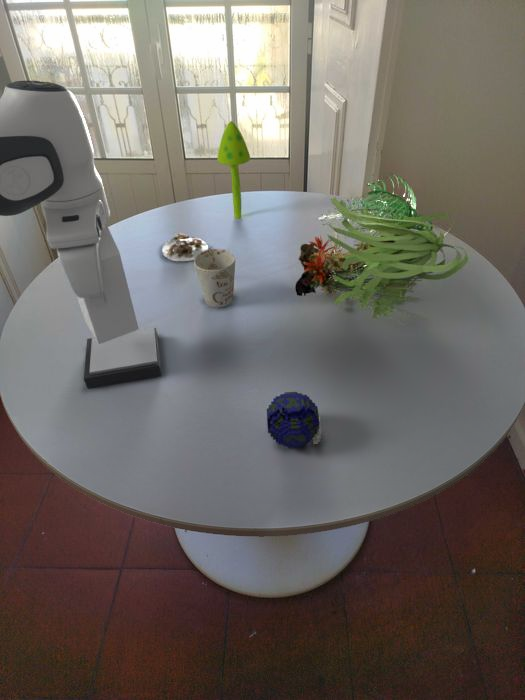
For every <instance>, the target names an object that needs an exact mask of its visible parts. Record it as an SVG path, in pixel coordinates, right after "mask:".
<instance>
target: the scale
mask: <svg viewBox="0 0 525 700" xmlns="http://www.w3.org/2000/svg"><path fill="white" fill-rule="evenodd" d="M85 347H86V348H85V357H84V358H85V359H84V360H85V361H84V367H83V368H84V371H83V381H84V383H85V386H86V388H87V389H94V388H99V387H105V386H111V385H115V384H122V383H128V382H133V381H139V380H145V379H151V378H155V377H162V365H161V363H162V362H161V353H160V352H161V351H160V342H159V334H158V331H157V327H151V328H150V327H149V328H144V329H138V330H136V331H133V332H131V333H128V334H125V335H123V336H120V337H117V338H115V339H112V340H109V341H107V342H104V343H101V344H98V342H97V340H96V339H95V337H94V336H93V337H90V338H86V346H85Z"/></svg>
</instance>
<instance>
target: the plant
mask: <svg viewBox="0 0 525 700" xmlns="http://www.w3.org/2000/svg"><path fill="white" fill-rule="evenodd" d="M391 175H392V176H394V178H395V179H396V180H397V181H401V184H403V185H404V187H405V191H404V194H403V197H405V196H406V192H408V191H409V194H408V197H407V198H406V200H405V199H404V198H402V197H401V196H400V195H397V194H395V193H394V192H395V191H392V193H391V192H388V191H386V190H387V185H386V183H385V182H384V180H382V179H380V178H378V181H380V183H381V184H382V186H383V189H382V187H381V186H380V185H379V184H377V183H375V182H371V183H370V182H368V183H367V184H366V187H371V188H372V190H371V191H366V194H367V195H366V196H364V198H363V199H362V197H363V195H359V196H356V198H353V196H351V197H350V199H347V200H346V201H347V202H348V203H349V205H347V204H346V202H344V201H343V199H341V201H338V199H337V198H336V196H334V197H332V198H329V200H330V202H331V203H332V204H333V205H334V206H335V209H336V210H337V211H338V212H333V213H330V211H327V212H328V213H329V215H327V214H323V213H321V214H322V215H323V216H322V217H317V220H320V221H321V222H325V221H327V220H330V219H332V220H331V221H329V222H327V223H322V226H326V225H327V226H328V227H330V228H331V230H333V231H334V236H335V237H334V236H332V235H329V234H327V237H328V239H327V240H326V242H325V243H324V241H323V239H322V235H320V237H318V236H316V235H315V236H314V240H315V242H314V241H308V242H309V244H308V243H303V244H301V245H300V255H299V257H298V260H299V262H300V264H301V266H302V268H303V270H304V271H303V273H302V274H301V276H300V277H299V279H298V280H297V281H296V283H295V285H294V289H295V290H294V291H295V293H296V295H297V296H298V297H303V296H304V297H306V295H307V294H312V293H314V294H317V292H316V289H317V288H319V289H320V288H321V291H323V295H324V296H327V295H330V296H331V297H332V296H333V295H334V296H335V298H336V299H335V300H334V301H333V303H334V304H335V305H336V306H342V304H343V301H344V300H346V302H347V303H348V310H351V305H350V299H351V300H354V301H355V302H357V303H360V304H358V306H359V307H360V308H361V309H362V310H363V309H365V308H366V307H368V308H369V309H371V310H373V311H372V315H371V317H372V319H377V318H378V316H380V317H381V316H382V315H383V316H384V317H387V318H389V319H392V320H393V321H395V322H397V323H399V324H400V325H403V326H405V327H407V328H409V329H411V330H413V331H415V332H418V330H417V329H415V328H413V327H411V326H409V325H407V324H406V323H403V322H401V321H399V320H397V319H395V318H393V317H391V316H389V315H388V312H389V313H391V314H393V313H394V311H396V312H399V313H401V314H403V315H407V316H410V317H413V318H415V319H419V320H422V321H424V320H427V318H426V317H423V316H420V315H417V314H414V313H411V312H408V311H406V310H402V309H399V308H396V307H395V304H396V301H398V303H402V305H404V304H405V303H406V302H410V303H416V304H419V301H414V300H413V301H412V300H408V299H406V298H412V296H409V295H406V294H407V292H408V291H409V292H411V293H414V292H415V290H413V288H412V287H411V286H417V283H416V282H422V281H423V280H431V281H439V280H444V279H447V278H449V277H451V276H453V275H455V274H456V273H457V272H459V271H460V270H462V269H463V268H464V267H465V266H466V265H467V263H468V260H469V255H468V253H467V252H466V250H465V249H464V248H463V247H461V246H457V245H451V244H446V243H444V238H445V236H446V235H447V234H448V233H449V231H447V232H446V233H444V234H443V232H442V231H441V230H440V228H439V227H438V226H437V225H434V224H433V222H431V220H437V219H444V218H450V219H453V217H452V216H451V215H450V214H447V213H439V214H432V215H422V214H421V213H420V212H419V210H417V211H416V207H417V198H416V194H414V190H413V188H412V186H411V185H410V184H409V183H408V182H407V181H406V179H404V178H402V177H401V176H400V175H395V174H394V173H391ZM387 178H388V179H390V181H391V183H392V186H393V187H395V183H394V181H393V179H392V178H391V177H390V176H386V177H385V178H384V179H387ZM398 178H399V179H398ZM397 184H398V185H397V186H398V187H399V183H397ZM376 187H377V188H376ZM400 191H402V188H401V189H400ZM385 195H386V196H385ZM384 196H385V197H384ZM389 196H390V197H389ZM393 199H394V200H393ZM410 199H411V200H410ZM350 200H352V201H350ZM354 200H355V201H356V203H355V201H354ZM351 202H352V203H351ZM409 202H410V203H409ZM341 220H342V221H341ZM340 221H341V223H340V224H337V225H334V224H336V223H339V222H340ZM349 221H350V222H349ZM426 221H427V222H426ZM354 224H355V226H353V225H354ZM454 224H455V221H454V220H452V224H451V227H450V228H449V230H451V229H452V228H453V226H454ZM333 225H334V226H333ZM433 228H435V229H436V230H438V231H439V236H437V234H436V233H435V232H434V231H433ZM365 231H366V232H365ZM338 234H340V235H342V236H344V239H345V240H346V239H348V238H351V239H354V241H353V242H354V244H353V246H355V247H352V246H350V245H349V244H347V243H346V242H344V241H341V240H340V239H338V238H339V235H338ZM356 242H358V243H357V244H356ZM323 243H324V244H323ZM329 243H333V244H331V246H330V247H329V248H327V249H326V247H327V246H328V244H329ZM444 247H445V248H446V247H447V248H451V249H454V250H455V251H456V257H455V258H454V259H452V260H451V261H450V262H448V263H446V254H445V252H444V249H443V248H444ZM343 249H345V250H346V252H342V251H343ZM457 249H461V250H463V251H464V258H463V259H462V254H461V253H460V251H459V250H457ZM439 251H440V252H441V253H442V256H443V260H442V261H440V262H439V263H437V261H438V252H439ZM436 263H437V264H436ZM439 272H442V273H439ZM434 273H437V274H434ZM372 296H374V297H377V298H376V299H375V300H372V299H371V298H372ZM355 298H358V300H357V299H355ZM413 298H415V299H420V297H418V296H413ZM369 303H370V305H371V306H369V305H368V304H369ZM341 308H342V307H340V308H339V309H340V310H341Z"/></svg>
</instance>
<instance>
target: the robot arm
mask: <svg viewBox="0 0 525 700" xmlns="http://www.w3.org/2000/svg"><path fill="white" fill-rule="evenodd" d="M94 150H95V149H94V146H93V143H92V140H91V136H90V133H89V129H88V126H87V123H86V120H85V118H84V115H83V112H82V110H81V108H80V105H79V103H78V101H77V99H76V97H75V95H74V94H73V93H72V91H70V90H69V89H68V88H67V87H66V86H63V85H60V84H58V83H54V82H50V81H40V80H17V81H13V82H10V83H8V84H6V85H5V87H4V90H3V93H2V95H1V97H0V216H1V217H11V216H16V215H20V214H22V213H24V212H26V211H28V210H30V209H32V208H35V207H36V206H37V205H40V207H41V212H42V214H43V218H44V221H45V233H46V236H45V237H46V240H47V243H48V245H49V247H50V249H51V250H56V254H57V257H58V260H59V263H60V266H61V268H62V270H63V272H64V275H65V277H66V280H67V281H68V284H69V286H70V288H71V290H72V292H73V293H74V295H75V296H76V295H77V296H78V297H79V298H87V297H90V298H91V300H92V302H93V305H94V307H96V308H100V307H104V306H105V305H106V298H105V295H104V292H103V281H104V266H103V263H102V260H101V255H100V248H98V245H99V242H100V237H101V232H102V230H103V229H104V226H105V222H108V220H109V219H110V217H111V210H110V206H109V203H108V199H107V195H106V192H105V188H104V185H103V184H104V183H103V181H102V178H101V176H100V174H99V173H98V171H97V169H96V166H95V152H94ZM77 296H76V297H77Z"/></svg>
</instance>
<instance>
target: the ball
mask: <svg viewBox="0 0 525 700" xmlns="http://www.w3.org/2000/svg"><path fill="white" fill-rule="evenodd" d="M266 423H267V425H266V426H267V433H268V434H270V438H272V440H273V441H275V443H277V445H282V446H283V447H287V448H289V449H291V448H292V449H293V448H301V447H302V446H306V444H308V443H310V442H312V444H313V445H319V443H320V442H321V439H322V435H321V433H322V424H321V416H320V414H319V408H318V405H316V403H315V402H313V399H310V396H308V394H303V393H301V392H299V393H298V391H287V392H286V391H285V392H284V393H281V394H279V395H276V396H275V397H273V399H272V401H270V404H268V408H266Z"/></svg>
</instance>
